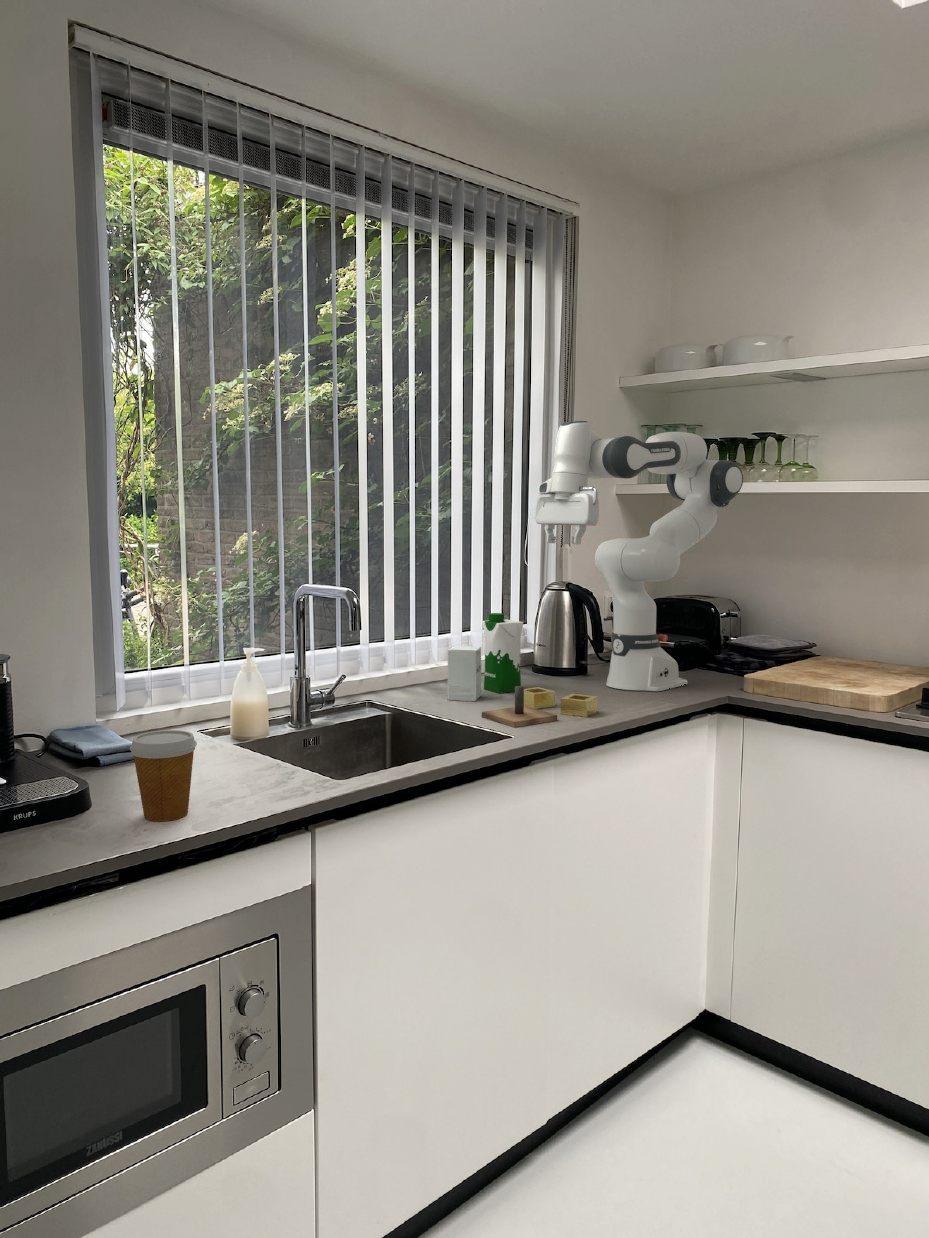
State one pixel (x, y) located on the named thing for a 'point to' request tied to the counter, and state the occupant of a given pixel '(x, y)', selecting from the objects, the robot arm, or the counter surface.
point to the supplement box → (464, 673)
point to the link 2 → (579, 705)
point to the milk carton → (502, 653)
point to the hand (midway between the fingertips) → (563, 543)
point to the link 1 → (539, 698)
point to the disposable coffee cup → (164, 772)
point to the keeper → (519, 713)
